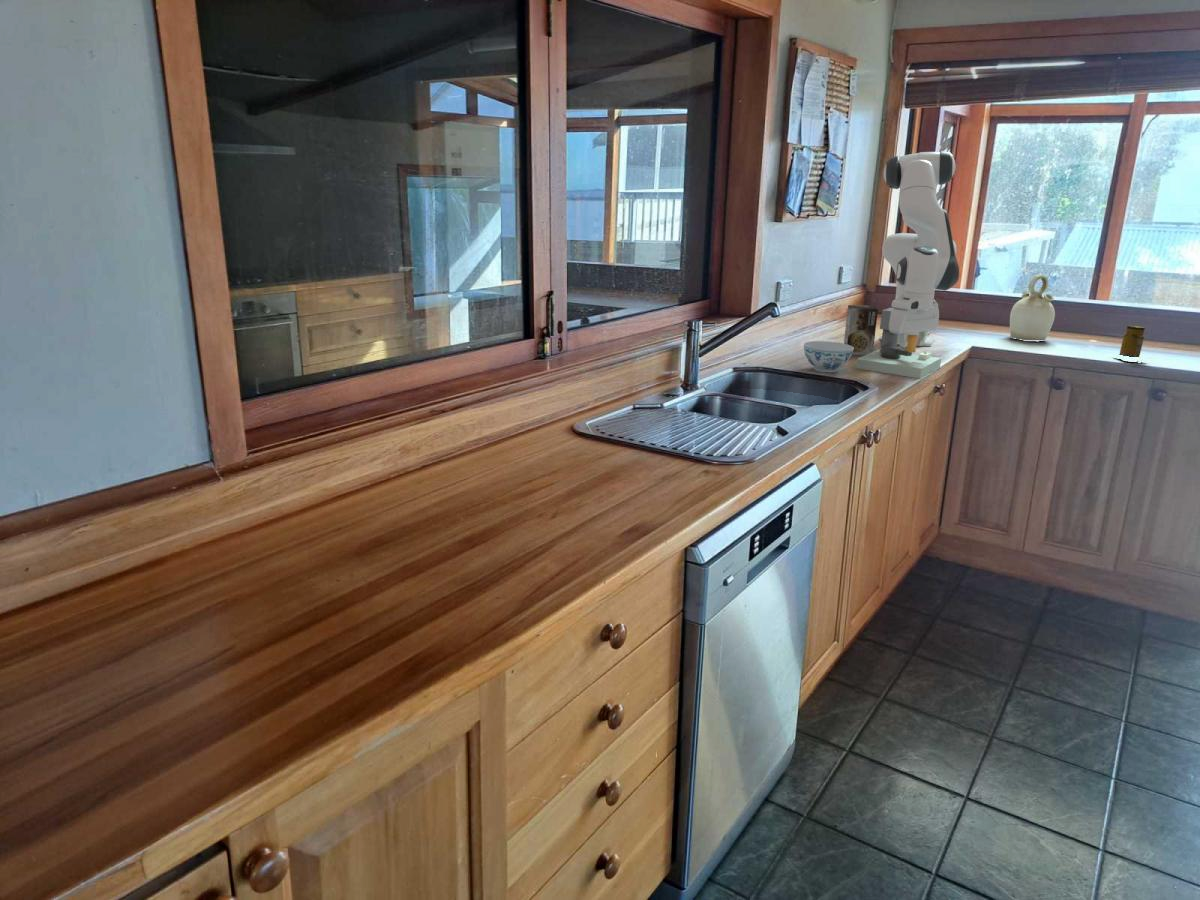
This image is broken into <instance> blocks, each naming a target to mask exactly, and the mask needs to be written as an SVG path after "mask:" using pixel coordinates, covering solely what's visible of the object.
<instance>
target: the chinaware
mask: <svg viewBox="0 0 1200 900" xmlns="http://www.w3.org/2000/svg"><path fill="white" fill-rule="evenodd" d="M803 350H804V356H805V357H806V359H807V361H808V362H809V363H810V364H811V365H812V366H813V367H814V371H816V372H819V371H820V373H825V372H834V373H837V371H838V369H841V368H842V367H843V366H845V365H846V364H847V362H849V360H850V359H851V357H852V353H853V350H854V347H852V346H850V345H847V344H844V342H843V343H841V342H835V341H827V340H826V341H824V340H823V341H822V340H814V341H812V340H811V341H806V342H804V343H803Z"/></svg>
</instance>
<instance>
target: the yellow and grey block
mask: <svg viewBox="0 0 1200 900" xmlns="http://www.w3.org/2000/svg"><path fill="white" fill-rule="evenodd" d="M917 337H918V336H917V335H911V334H909V335H907V342H908V344H907V347H904V348H902V347H900V346H899V345H897V346H891V345H884V346H882V349H881V356H882V357H885V358H900V355H904V356H912V354H913V353H916V349H917V346H916V344H917Z"/></svg>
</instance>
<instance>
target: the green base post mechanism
mask: <svg viewBox="0 0 1200 900" xmlns="http://www.w3.org/2000/svg"><path fill="white" fill-rule="evenodd" d="M893 309H894V308H892V307H888V308H885V309H882V311H881V317H880V323H879V329H880V330H882V335H881V336H882V340H881V339H880V340H881V342H880V347H879V349H877V350H875V351H874V350H873V352H872V353H869V354H867V355H862V356H860V357H858V358H856V364H855V369H857V370H865V371H869V372H870V371H871V372H876V373H884V374H889V375H894V376H896V375H897V376H902V377H908V378H915V379H922V378H924V377H925V376H927V375H929V374H931V373H932V372H934V371H936V370H938V369H939V368H940V367H941V362H942V357H935V356H932V352H928V351H923V352H920V353H918V354H917V353H912V356H904V355H900V358H885V357H882V356H881V349H882V346H884V345H891V346H898V344H897V342H898V334H894V333H890V331H889V320H890V314H891V311H892V310H893Z"/></svg>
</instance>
